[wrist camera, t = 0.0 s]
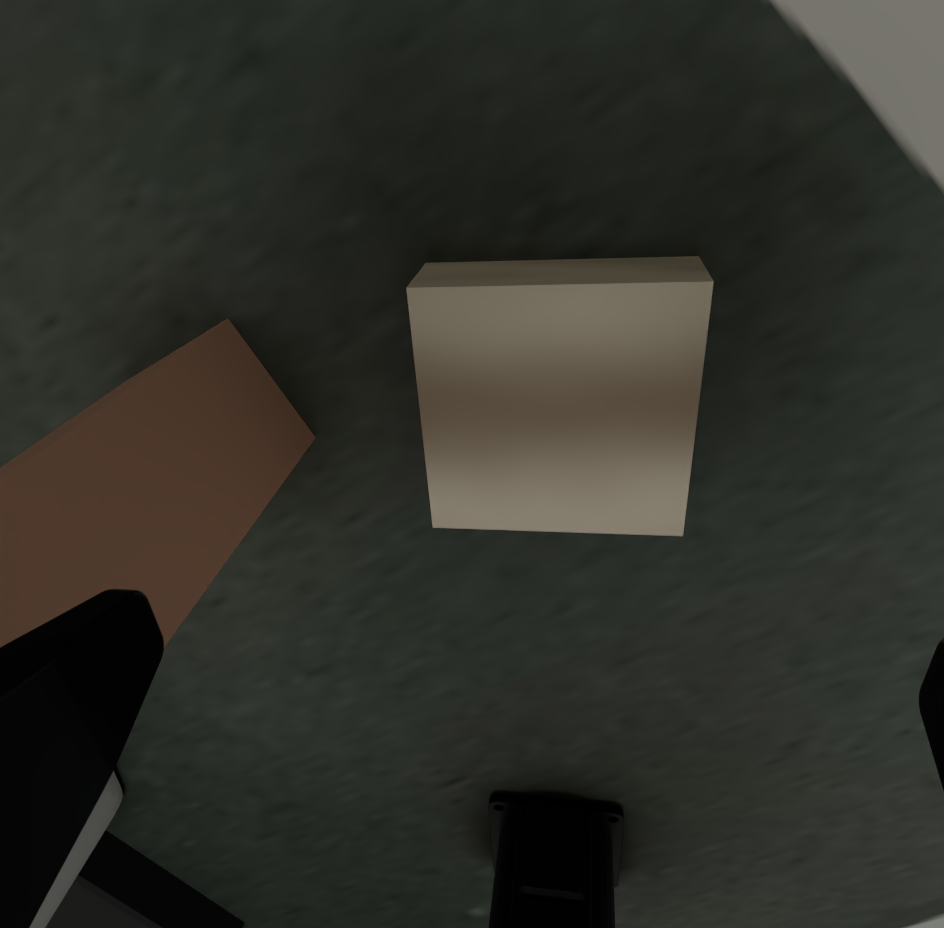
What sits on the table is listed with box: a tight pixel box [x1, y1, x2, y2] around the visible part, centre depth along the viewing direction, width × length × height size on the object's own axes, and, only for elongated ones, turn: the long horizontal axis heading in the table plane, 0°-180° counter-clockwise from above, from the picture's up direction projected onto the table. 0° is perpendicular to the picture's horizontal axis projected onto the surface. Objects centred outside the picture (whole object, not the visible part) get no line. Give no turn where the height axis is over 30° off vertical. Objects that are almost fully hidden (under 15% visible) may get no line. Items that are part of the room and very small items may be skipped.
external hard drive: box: [45, 830, 244, 928], centre depth 46 cm, size 14×23×3 cm, turn 130°
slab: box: [406, 256, 714, 536], centre depth 21 cm, size 8×8×3 cm
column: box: [0, 318, 316, 647], centre depth 19 cm, size 5×5×13 cm
